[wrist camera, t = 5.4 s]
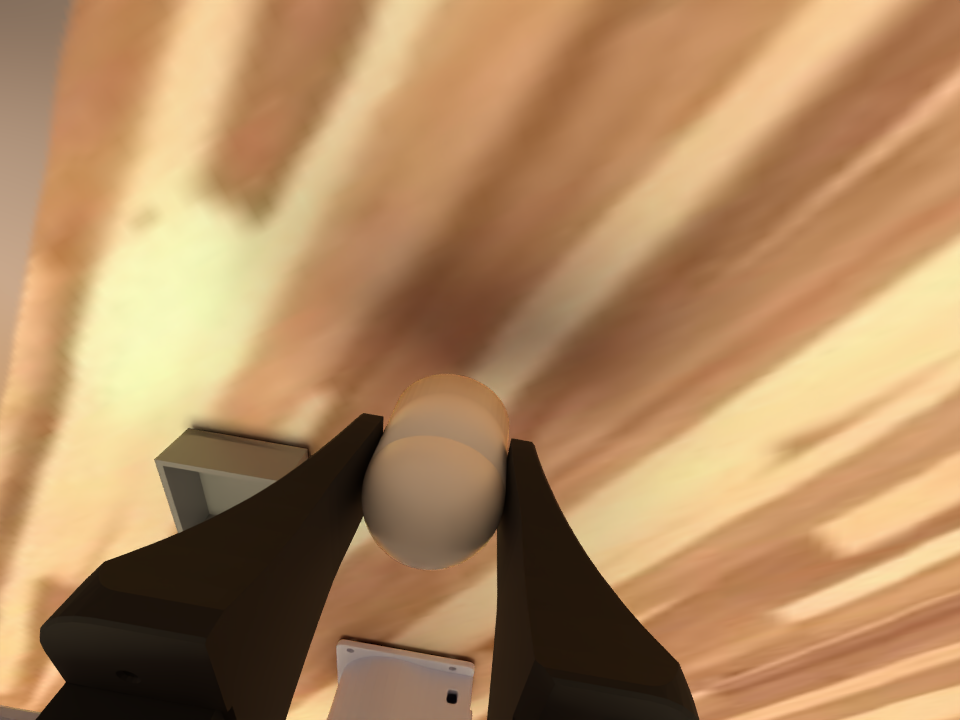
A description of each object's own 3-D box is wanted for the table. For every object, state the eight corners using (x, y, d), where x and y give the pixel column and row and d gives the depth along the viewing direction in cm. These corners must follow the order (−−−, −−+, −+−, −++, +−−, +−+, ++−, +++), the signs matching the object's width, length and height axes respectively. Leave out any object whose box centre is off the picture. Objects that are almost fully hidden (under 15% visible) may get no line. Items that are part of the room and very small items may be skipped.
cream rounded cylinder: (518, 385, 13) (515, 510, 9) (499, 474, 15) (488, 615, 11) (397, 364, 13) (335, 479, 9) (392, 457, 15) (340, 588, 11)
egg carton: (307, 448, 21) (284, 482, 19) (319, 589, 26) (302, 625, 24) (188, 428, 21) (154, 459, 19) (225, 572, 26) (202, 607, 25)
